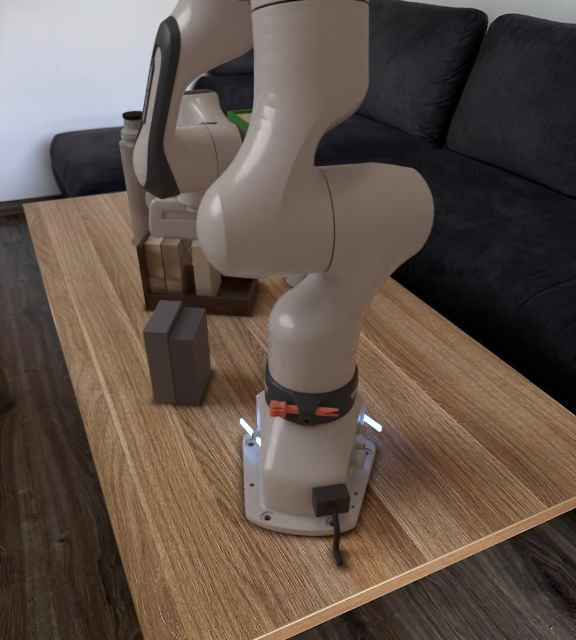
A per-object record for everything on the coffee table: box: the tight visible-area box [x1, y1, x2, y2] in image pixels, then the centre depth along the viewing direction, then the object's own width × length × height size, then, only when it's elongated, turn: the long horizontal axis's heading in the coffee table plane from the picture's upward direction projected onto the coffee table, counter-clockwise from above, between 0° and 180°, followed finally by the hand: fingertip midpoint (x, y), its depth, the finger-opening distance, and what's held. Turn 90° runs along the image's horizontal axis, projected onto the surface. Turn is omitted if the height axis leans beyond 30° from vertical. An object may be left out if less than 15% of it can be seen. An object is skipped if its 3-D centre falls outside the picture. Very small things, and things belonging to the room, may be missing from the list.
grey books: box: [142, 300, 212, 406], centre depth 91 cm, size 7×9×13 cm
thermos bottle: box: [118, 110, 149, 246], centre depth 130 cm, size 8×8×28 cm
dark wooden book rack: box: [135, 230, 260, 317], centre depth 114 cm, size 20×13×13 cm, turn 84°
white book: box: [192, 239, 222, 296], centre depth 114 cm, size 3×9×12 cm, turn 174°
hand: (206, 260), depth 113 cm, fingers closed on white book, 3 cm apart
